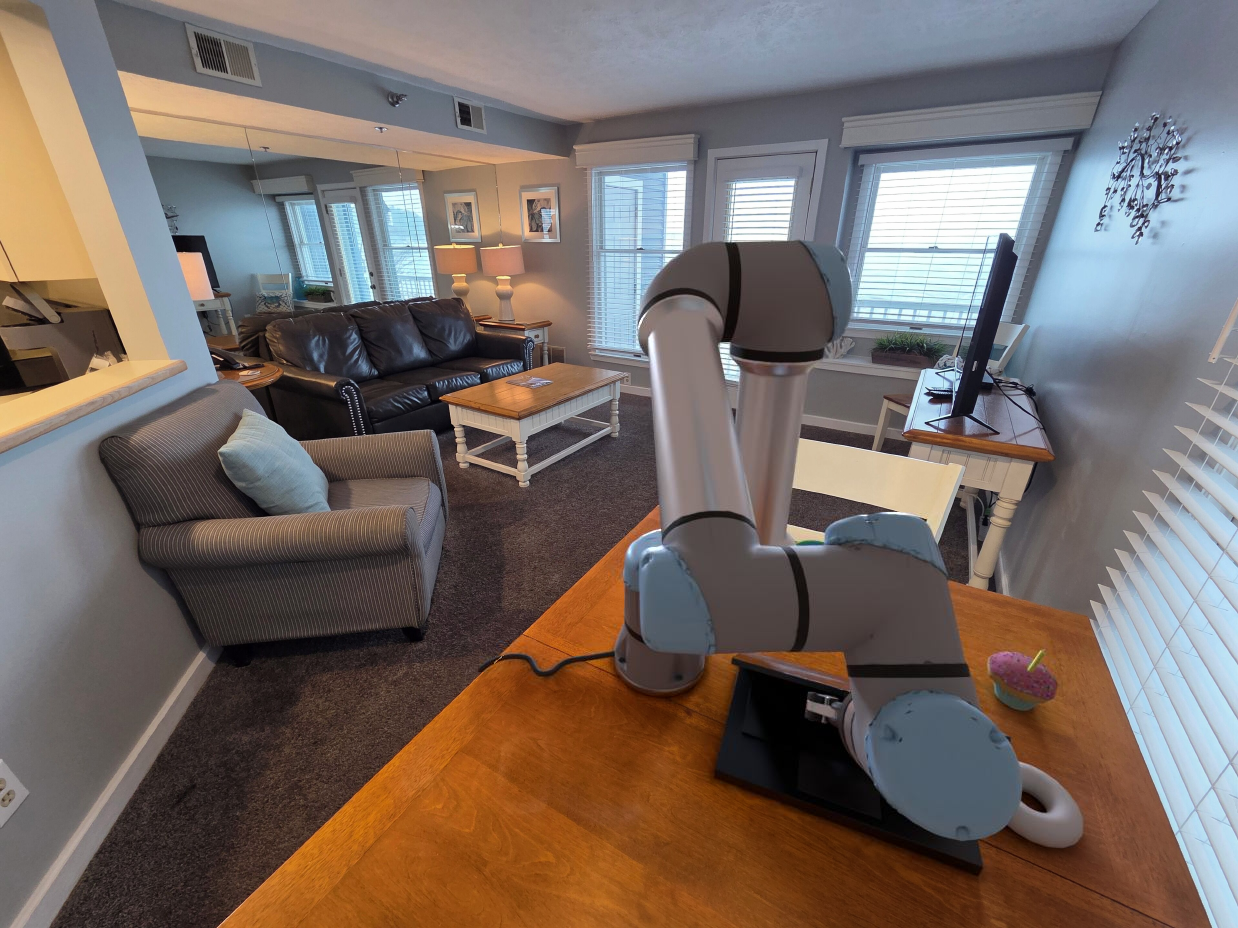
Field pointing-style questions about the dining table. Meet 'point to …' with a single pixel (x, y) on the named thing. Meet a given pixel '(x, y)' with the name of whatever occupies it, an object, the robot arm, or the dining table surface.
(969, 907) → the dining table surface
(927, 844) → the laptop
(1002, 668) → the cupcake
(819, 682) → the screen
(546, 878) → the dining table surface
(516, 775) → the dining table surface
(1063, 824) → the donut
